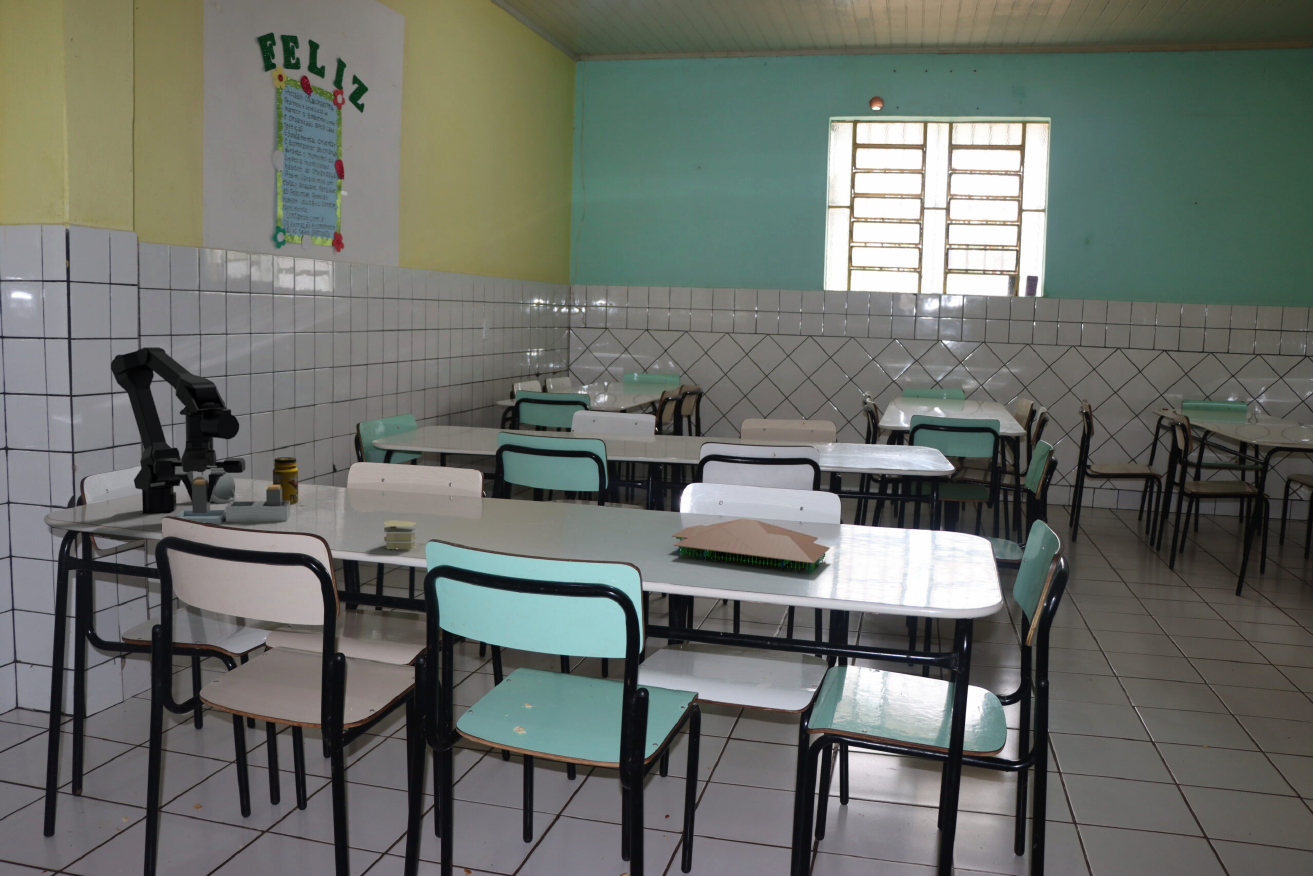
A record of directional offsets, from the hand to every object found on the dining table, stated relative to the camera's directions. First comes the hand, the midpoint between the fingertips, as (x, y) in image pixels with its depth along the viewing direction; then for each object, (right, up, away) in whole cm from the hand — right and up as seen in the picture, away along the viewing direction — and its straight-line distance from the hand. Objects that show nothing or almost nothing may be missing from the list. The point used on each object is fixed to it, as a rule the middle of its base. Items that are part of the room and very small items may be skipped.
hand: (201, 502), depth 228 cm
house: (+126, -11, -13) cm, 127 cm away
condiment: (+10, -2, +23) cm, 25 cm away
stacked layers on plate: (+50, -9, -17) cm, 54 cm away
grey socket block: (+12, -5, +4) cm, 13 cm away
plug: (0, -2, 0) cm, 2 cm away
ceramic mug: (-7, -2, +24) cm, 25 cm away
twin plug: (+15, -5, +5) cm, 17 cm away
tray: (0, -4, +1) cm, 5 cm away
